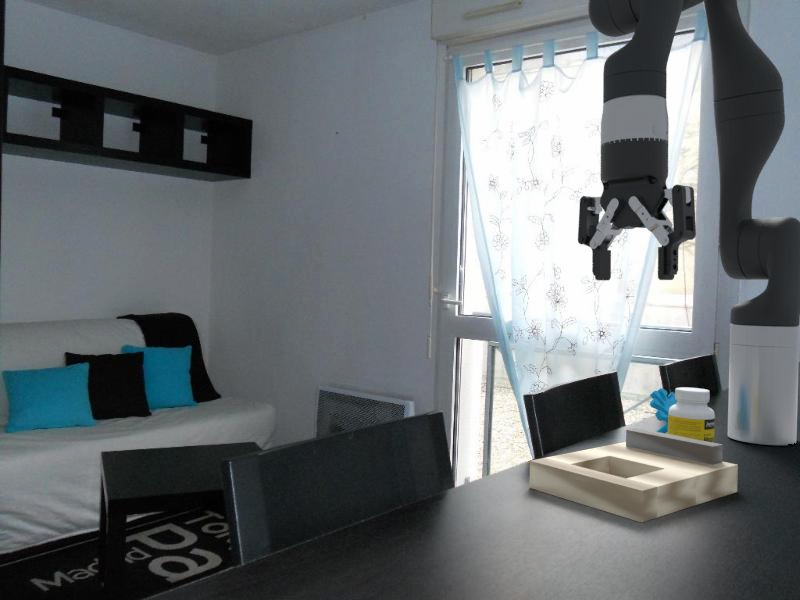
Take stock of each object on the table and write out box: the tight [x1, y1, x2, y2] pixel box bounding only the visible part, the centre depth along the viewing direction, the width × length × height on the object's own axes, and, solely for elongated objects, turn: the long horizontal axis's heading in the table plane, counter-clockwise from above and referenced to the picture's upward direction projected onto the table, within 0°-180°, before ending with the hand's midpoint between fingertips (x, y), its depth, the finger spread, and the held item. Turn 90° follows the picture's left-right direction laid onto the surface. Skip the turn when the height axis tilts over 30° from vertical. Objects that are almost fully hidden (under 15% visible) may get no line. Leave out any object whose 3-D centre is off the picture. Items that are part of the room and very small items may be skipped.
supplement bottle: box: [667, 386, 716, 443], centre depth 88 cm, size 5×5×10 cm
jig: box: [528, 427, 739, 523], centre depth 77 cm, size 18×14×5 cm
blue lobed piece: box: [649, 387, 677, 434], centre depth 104 cm, size 11×6×10 cm
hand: (633, 280), depth 83 cm, fingers open, 8 cm apart
